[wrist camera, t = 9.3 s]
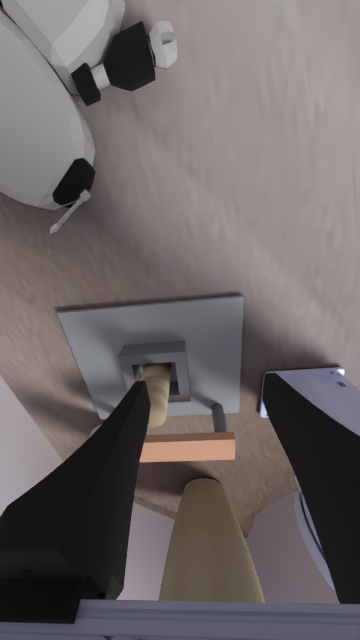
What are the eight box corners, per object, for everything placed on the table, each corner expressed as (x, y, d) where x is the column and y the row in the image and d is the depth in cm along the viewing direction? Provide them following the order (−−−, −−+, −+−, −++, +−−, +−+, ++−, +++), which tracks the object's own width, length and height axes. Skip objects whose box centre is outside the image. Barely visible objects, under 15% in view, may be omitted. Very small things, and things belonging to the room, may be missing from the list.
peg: (171, 355, 22) (166, 403, 16) (171, 376, 24) (166, 428, 17) (145, 353, 22) (129, 401, 16) (145, 375, 24) (131, 426, 17)
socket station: (242, 295, 20) (267, 322, 14) (237, 409, 27) (252, 460, 21) (60, 311, 21) (10, 342, 15) (102, 415, 28) (79, 465, 22)
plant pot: (187, 456, 32) (188, 642, 17) (258, 480, 34) (311, 659, 20) (152, 494, 38) (131, 657, 23) (215, 512, 40) (232, 669, 26)
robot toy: (37, -134, 10) (-67, 114, 14) (-54, -386, 6) (-169, 60, 10) (188, 88, 14) (73, 240, 18) (195, 22, 10) (42, 239, 13)
